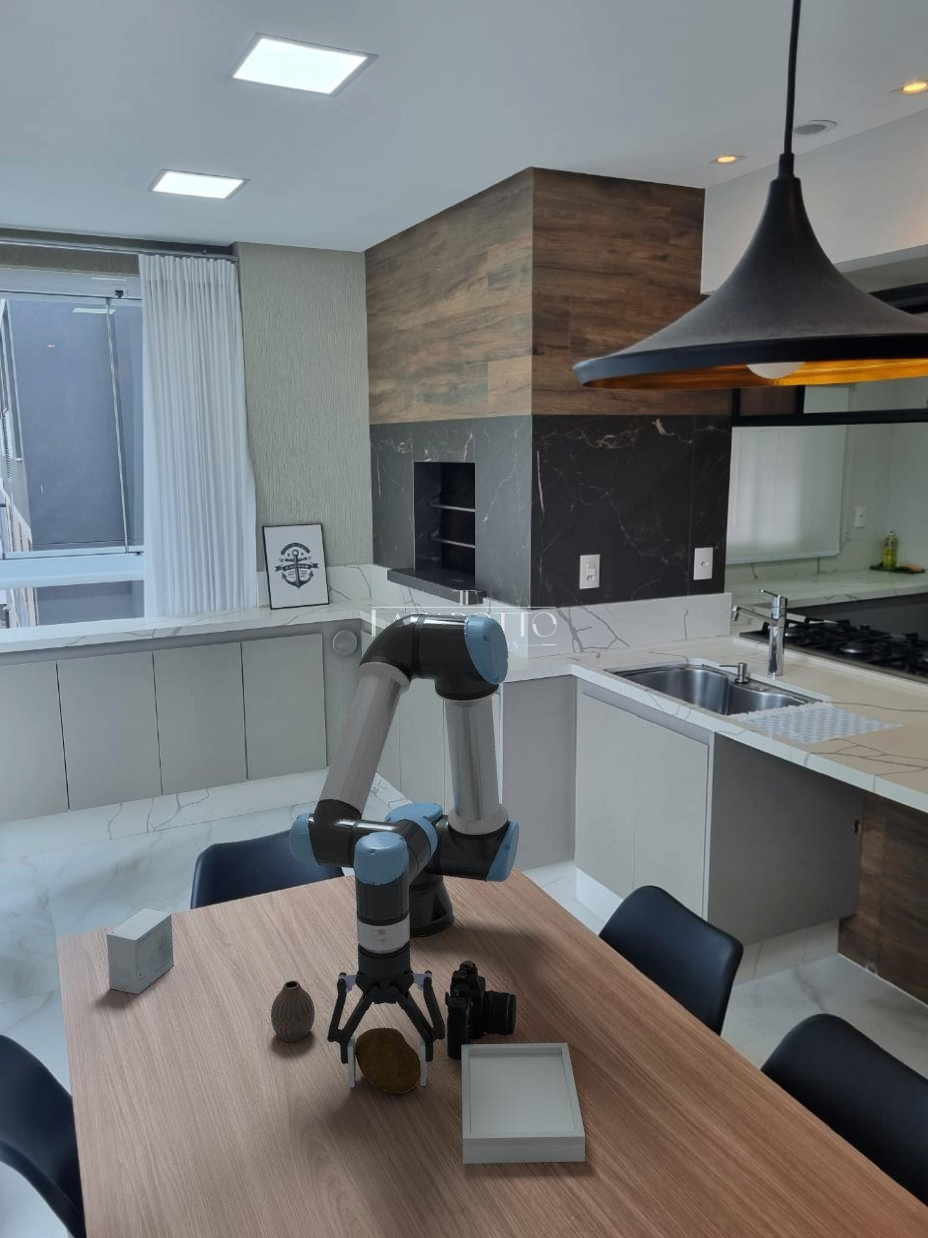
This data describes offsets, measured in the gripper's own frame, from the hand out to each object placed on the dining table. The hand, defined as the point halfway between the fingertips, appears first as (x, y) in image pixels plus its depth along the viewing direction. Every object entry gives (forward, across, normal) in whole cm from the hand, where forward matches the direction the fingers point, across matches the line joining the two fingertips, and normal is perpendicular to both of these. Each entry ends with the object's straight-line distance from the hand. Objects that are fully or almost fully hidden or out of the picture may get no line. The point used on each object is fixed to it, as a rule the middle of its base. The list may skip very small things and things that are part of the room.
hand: (388, 1080), depth 140 cm
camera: (+1, +14, +12) cm, 18 cm away
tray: (+1, +19, -6) cm, 20 cm away
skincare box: (+1, -46, +31) cm, 55 cm away
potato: (0, 0, 0) cm, 1 cm away
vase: (+1, -16, +13) cm, 21 cm away
